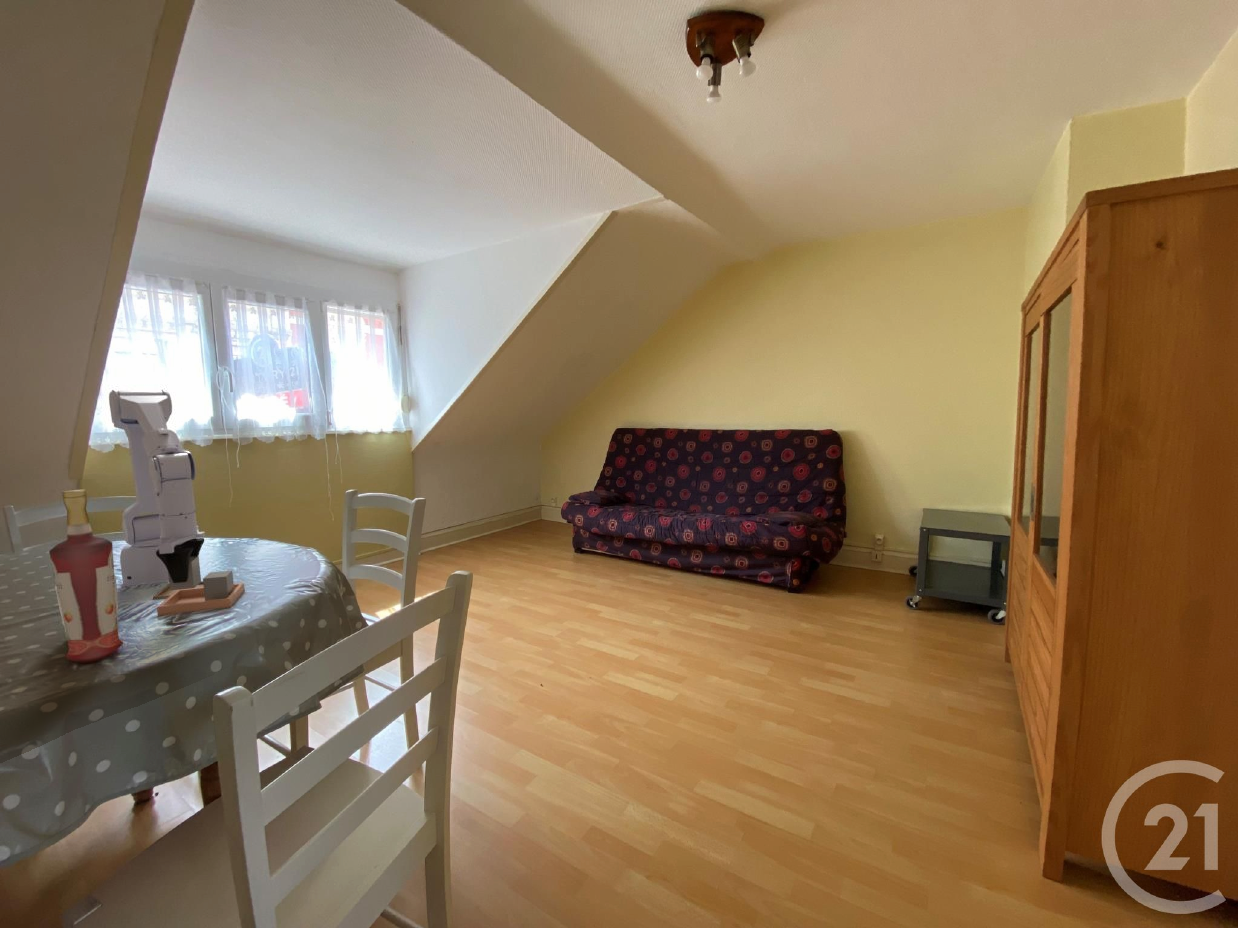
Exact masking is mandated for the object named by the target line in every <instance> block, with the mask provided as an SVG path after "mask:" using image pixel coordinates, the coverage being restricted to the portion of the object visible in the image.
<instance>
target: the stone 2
mask: <svg viewBox="0 0 1238 928" xmlns="http://www.w3.org/2000/svg"><path fill="white" fill-rule="evenodd" d="M202 581H203V585H204V595H205V601H207V600H215V599H224V598H228V597H229V595H230V594H231V593H232V592H233V591H234V584H235V583H234V575H233V570H224V571H213V572H212V571H211V572H209V573H208V574H206V575H205V576H204V577H202Z"/></svg>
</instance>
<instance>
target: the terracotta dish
mask: <svg viewBox="0 0 1238 928" xmlns="http://www.w3.org/2000/svg"><path fill="white" fill-rule="evenodd" d="M245 589H246V588H245V583H244V582H236V583H234V591H233V592H232V593H231V594H230V595H229V597H228V598H224V599H215V600H207V601H205V595H204V587H199V588H191V589H181V590H176V591H175V592H174V593H173V594H172V595H170V596H169V597H168V598H165V599H164V600H163V601H162V602H161V603H160V604H159V605H157V607H156V612H157V617H160V616H168V615H177V614H185V613H193V612H200V611H202V612H204V611H210V610H218V609H220V610H221V609H226V608H232V607H233V605H234V604H235V603H236V601H238V600H239V598H240V597H241V596H242V595H243V593H244V592H245Z"/></svg>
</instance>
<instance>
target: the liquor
mask: <svg viewBox="0 0 1238 928" xmlns="http://www.w3.org/2000/svg"><path fill="white" fill-rule="evenodd" d="M61 493H62V500H63V504H64V505H63V506H64V507H65V509H66V513H67V514H66V538H67V539H66V540H64V541H61V542H60V543H58V544H56V545H55V546H53V547H52V548H51V549H50V550H48V551H49V557H50V562H51V567H52V571H53V572H52V573H53V577H54V582H55V583H54V584H55V586H56V587H57V591H58V595H59V599H60V604H61V608H62V613H63V618H64V623H65V627H64V629H65V628H66V632H65V635H66V634H67V637H66V640H67V639H68V640H67V644H68V652H67V654H66V655H65V657H66V658H67V659H68V660H71V661H74V662H77V663H78V664H89V663H94V662H98V661H99V662H100V661H102V660H105V659H107V658H110V657H111V656H113V655H114V654H115V653H116V652H117V651H118V650H119V649H120V648H121V647H122V646H123V645H124V642H123V641H122V639H120V637H119V623H118V624H117V617H118V615H117V613H116V599H115V576H116V575H115V562H114V549H113V541H111V540H109V539H106V538H104V537H100V536H95V535H94V534H93V530H92V526H91V524H90V518H89V515H88V511H87V502H88V498H87V490H86V489H73V490H63V491H62V492H61ZM114 575H115V576H114Z"/></svg>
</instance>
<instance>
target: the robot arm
mask: <svg viewBox="0 0 1238 928" xmlns="http://www.w3.org/2000/svg"><path fill="white" fill-rule="evenodd" d="M108 403H109V411H110V417H111V423H112V424H113V427H114V428H116V429H119V430H123V431H124V433H125V435H126V437H127V440H128V446H129V454H130V455H129V456H130V462H131V470H132V475H133V476H132V477H133V483H134V491H135V498H136V499H135V500H136V501H135V502H134V503H133V504H131V505H130V506H128V507H127V508H126V509H124V511H123V513H122V514H121V516H122V524H121V525H122V533H123V538H124V542H125V543H126V545H124V546H123V547H122V549H121V551H120V554H119V555H120V557H119V563H120V572H121V578H122V585H121V587H130V586H139V585H151V584H160V583H169V577H168V572H169V574H170V577H171V579H172V581H173V583H181V582H186V581H187V579H188V568H189V560H190V557H195V556H199V555H200V552H201V549H202V546H203V544H204V543H205V538H203V537H204V536H206V533H205V531H200V529H199V525H198V521H197V514H196V505H195V504H196V503H195V496H194V486H193V485H194V484H193V481H195V478H196V471H197V470H196V462H195V458H194V456H193V454H192V453H191V451H189V450H188V449H184V447H183V445H182V443H181V442H180V439H179V437H178V436H179V435H178V434H177V433H176V432H175V431H173V430H171V429H168V425H167V423H168V422H169V419H170V417H171V415H172V413H173V403H172V398H171V394H170V393H169V392H168V391H167V390H165V389H161V390H159V389H158V390H155V389H154V390H142V389H141V390H133V389H131V390H127V389H126V390H122V389H121V390H117V389H112V390H111V391H110V392H109V393H108ZM199 557H200V556H199Z"/></svg>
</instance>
